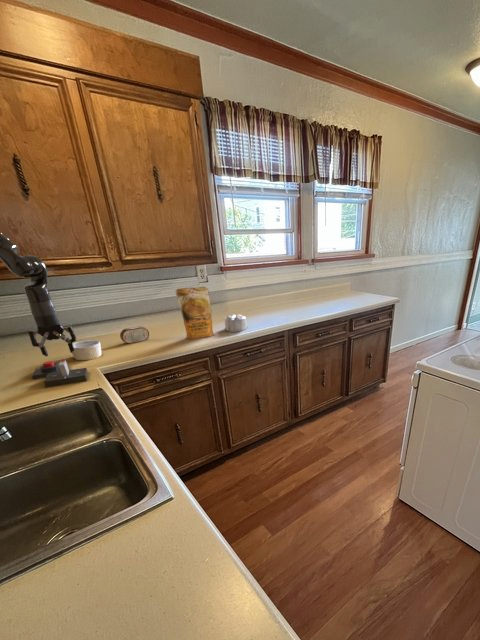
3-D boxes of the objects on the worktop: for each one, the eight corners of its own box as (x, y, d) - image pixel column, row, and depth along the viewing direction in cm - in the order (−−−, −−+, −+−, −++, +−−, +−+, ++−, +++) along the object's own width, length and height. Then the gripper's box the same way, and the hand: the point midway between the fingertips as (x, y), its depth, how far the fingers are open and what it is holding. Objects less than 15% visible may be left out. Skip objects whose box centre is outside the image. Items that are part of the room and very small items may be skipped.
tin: (149, 338, 190) (146, 324, 186) (151, 340, 188) (148, 325, 184) (122, 344, 181) (118, 329, 177) (124, 345, 179) (120, 330, 175)
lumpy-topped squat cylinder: (224, 328, 211) (222, 315, 207) (243, 326, 217) (242, 312, 213) (229, 332, 203) (228, 318, 199) (249, 329, 209) (248, 315, 205)
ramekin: (69, 357, 161) (64, 344, 158) (97, 351, 170) (93, 338, 167) (78, 364, 153) (74, 349, 150) (108, 356, 162) (104, 343, 159)
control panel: (46, 388, 129) (43, 381, 127) (50, 379, 136) (47, 372, 135) (87, 382, 134) (85, 374, 133) (88, 373, 142) (86, 367, 141)
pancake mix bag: (182, 337, 192) (173, 288, 179) (213, 333, 201) (207, 285, 188) (185, 340, 187) (176, 289, 174) (217, 335, 196) (211, 287, 183)
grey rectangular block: (68, 376, 132) (63, 363, 130) (62, 376, 132) (58, 364, 129) (69, 371, 137) (65, 359, 134) (64, 372, 136) (60, 360, 133)
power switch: (33, 380, 136) (30, 371, 134) (37, 373, 143) (34, 364, 141) (67, 375, 141) (64, 366, 139) (69, 368, 148) (66, 360, 146)
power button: (43, 368, 138) (42, 364, 137) (45, 365, 141) (43, 362, 140) (53, 367, 140) (52, 363, 139) (55, 364, 143) (53, 360, 142)
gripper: (67, 309, 129) (80, 348, 136) (23, 313, 123) (39, 354, 130) (65, 313, 123) (79, 353, 130) (19, 317, 117) (36, 359, 124)
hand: (59, 354), depth 130 cm, fingers open, 8 cm apart
